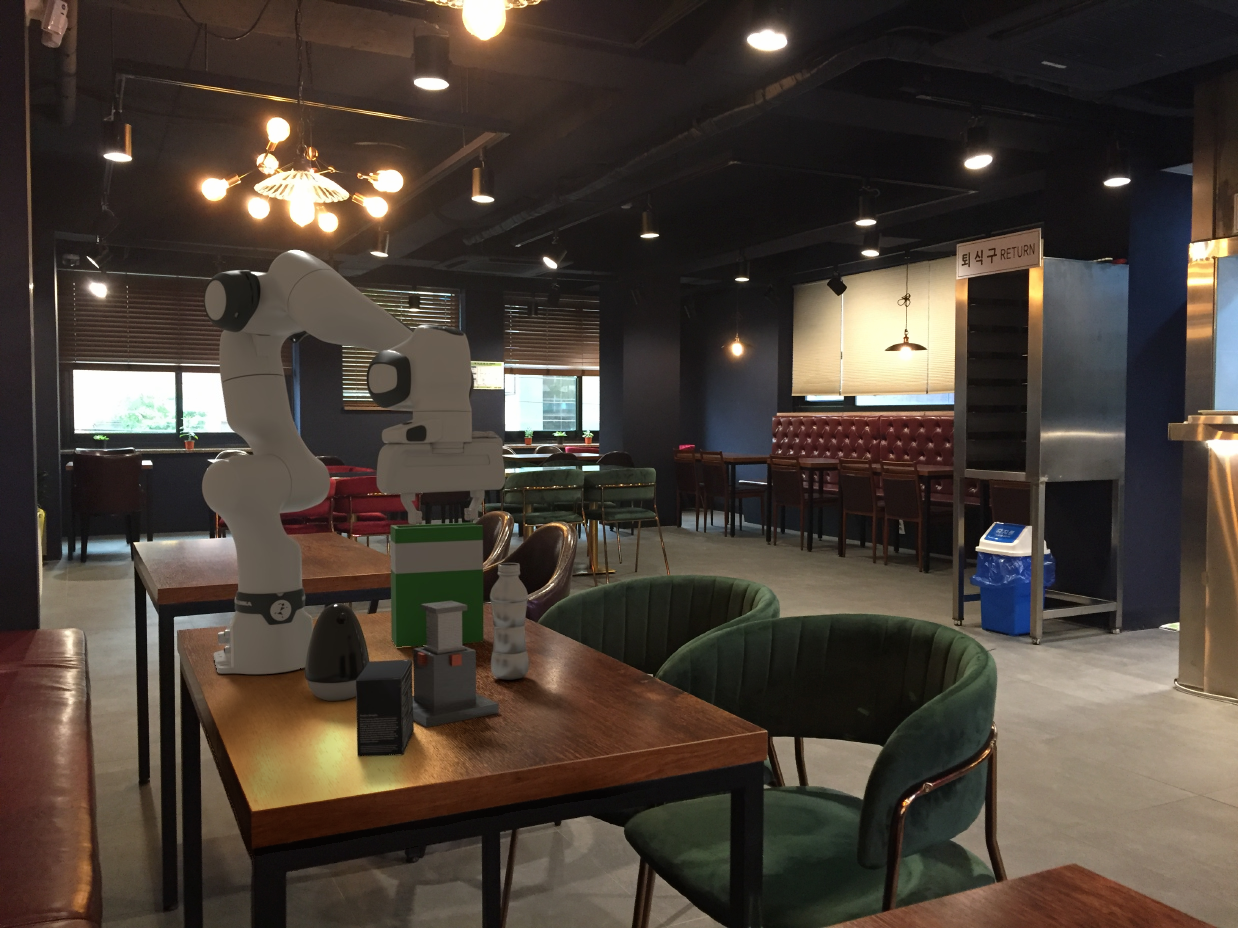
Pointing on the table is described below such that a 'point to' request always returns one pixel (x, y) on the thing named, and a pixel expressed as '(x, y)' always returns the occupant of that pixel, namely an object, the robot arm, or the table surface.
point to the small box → (384, 708)
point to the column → (444, 627)
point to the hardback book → (435, 577)
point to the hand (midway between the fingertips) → (443, 521)
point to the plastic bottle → (509, 624)
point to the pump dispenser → (336, 654)
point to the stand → (447, 688)
